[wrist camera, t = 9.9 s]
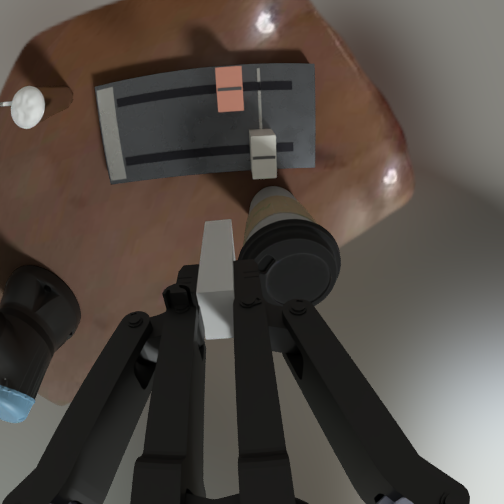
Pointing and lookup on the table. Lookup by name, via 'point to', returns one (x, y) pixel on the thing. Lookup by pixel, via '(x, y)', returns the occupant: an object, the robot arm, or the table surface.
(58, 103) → the milkshake
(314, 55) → the table surface
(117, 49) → the table surface
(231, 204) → the table surface
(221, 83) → the fader
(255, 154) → the fader
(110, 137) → the console
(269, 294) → the coffee cup
